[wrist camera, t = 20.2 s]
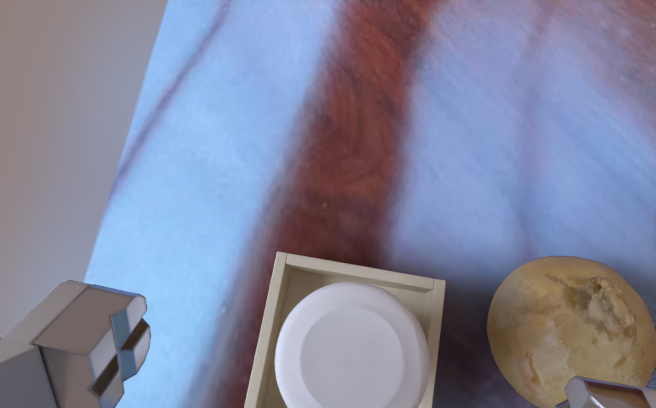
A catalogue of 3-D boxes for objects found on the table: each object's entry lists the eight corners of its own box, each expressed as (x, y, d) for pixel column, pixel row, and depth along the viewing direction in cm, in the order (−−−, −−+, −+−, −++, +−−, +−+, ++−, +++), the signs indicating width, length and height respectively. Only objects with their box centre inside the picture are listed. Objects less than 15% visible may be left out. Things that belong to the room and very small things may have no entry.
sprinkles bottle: (325, 293, 27) (303, 258, 14) (401, 319, 26) (451, 308, 13) (298, 372, 26) (248, 414, 13) (377, 401, 25) (406, 475, 12)
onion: (645, 364, 26) (751, 375, 19) (526, 436, 25) (592, 475, 18) (559, 240, 28) (627, 211, 21) (446, 304, 27) (479, 295, 20)
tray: (252, 420, 26) (238, 432, 23) (285, 260, 28) (276, 251, 25) (415, 454, 25) (425, 472, 22) (435, 286, 27) (446, 280, 24)
